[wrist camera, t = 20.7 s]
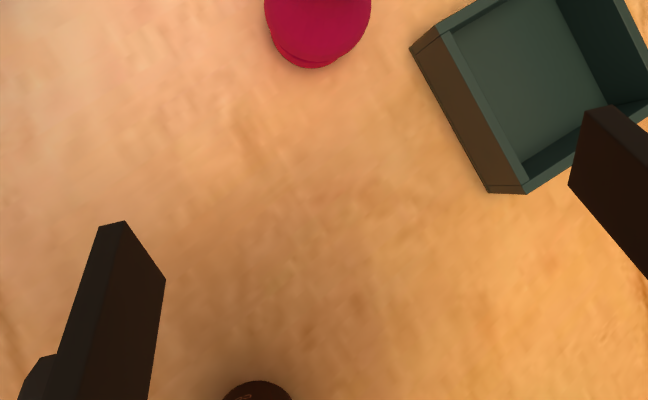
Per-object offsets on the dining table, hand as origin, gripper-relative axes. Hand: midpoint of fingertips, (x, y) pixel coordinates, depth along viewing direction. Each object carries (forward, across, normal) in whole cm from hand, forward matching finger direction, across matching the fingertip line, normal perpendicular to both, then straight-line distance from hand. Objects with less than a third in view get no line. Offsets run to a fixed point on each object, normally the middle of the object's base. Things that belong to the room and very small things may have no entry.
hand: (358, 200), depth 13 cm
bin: (+23, +16, -12) cm, 30 cm away
